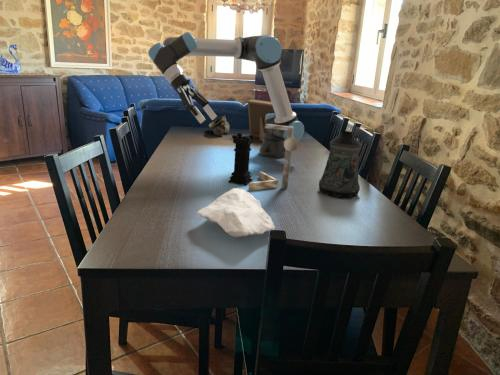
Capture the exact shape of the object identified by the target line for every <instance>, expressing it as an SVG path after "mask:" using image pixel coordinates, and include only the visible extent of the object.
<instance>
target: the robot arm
mask: <svg viewBox="0 0 500 375" xmlns="http://www.w3.org/2000/svg"><path fill="white" fill-rule="evenodd" d="M282 53H283V48H282V44H281V42H280V40H279V39H278V38H277V37H276V36H273V35H269V34H263V35H252V36H247V37H246V36H245V37H235V38H234V39H225V38H224V39H220V38H219V39H218V38H195V37H194V35H193V34H192V33H191V32H188V31H186V32H184V33H182V34H181V35H180V36H175V37H172V36H171V37H170V36H168V37H167V38H166V39H164V40H163V42H157V43H155V44H153V45H152V46H151V47H150V48H149V50H148V52H147V55H148V56H149V58H150V60H151V61H152V62H153V64H154V65H155V66H156V68H157V69H158V70H159V71H160V72H161V74H162V75H163V77H164V78H165V81H167V82H168V83H169V84H170V85H171V87H172V89H173V90H174V91H175V92H176V93H177V94H178V96H179V98H180V100H181V102H182V104H183V106H184V108H185V110H186V111H187V112H191V114H192V115H193V117H195V119H196V120H197V122H198V123H199V124H203V123H204V122H205V121H206V118H205V116H204V115H203V114H202V112H201V111H200V110H199V109H198V107H197V106H195V105H194V104H195V103H194V102H193V101H195V102H196V103H197V104H199V105H200V106H201V107H203V108H202V109H203V110H204V112H205V113H206V115H208V117H209V118H210V119H211V120H212V121H213V120H216V119H217V117H218V115H217V114H216V113H215V111H214V110H213V109H212V108H211V106H210V105H209V104H210V101H209V100H207V98H205V97H204V96H203V94H201V93H200V92H199V91H198V90H197V89H196V88H195V86H194V85H192V86H190V84H189V83H190V82H191V79H190V78H189V77H188V76H187V74H186V73H185V72H184V70H183V68H182V67H181V66H180V65H179V63H178V61H180V60H181V59H183V58H185V57H186V56H187V57H188V56H192V57H193V56H195V57H227V58H228V57H230V58H232V57H233V58H234V59H236V60H244V61H245V60H246V61H250V62H255V65H256V69H257V70H258V71H259V72H261V73H262V76H263V80H264V82H265V86H266V89H267V92H268V93H267V94H268V95H269V99H270V102H272V105H273V109H274V112H275V114H267V115H266V116H265V126H264V128H265V127H266V124H272V125H281V126H292V127H294V130H293V137H294V138H296V139H297V141H298V142H299V141H300V140H301V139H302V138H303V135H304V133H305V126H304V124H303V123H302V121H300V120H299V119H298V116H297V113H296V112H295V111H293V110H292V106H291V102H290V99H289V95H288V92H287V89H286V85H285V83H284V78H283V75H282V71H281V69H280V65H281V63H282V60H281V59H282V58H281V57H282ZM286 139H287V130H278V129H269V128H267V133H264V139H263V141H262V143H261V145H260V148H259V152H258V154H259V156H262V157H267V158H270V159H271V158H272V159H281V158H285V148H284V141H285V140H286Z"/></svg>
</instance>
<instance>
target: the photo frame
mask: <svg viewBox="0 0 500 375" xmlns="http://www.w3.org/2000/svg"><path fill="white" fill-rule="evenodd" d="M247 111H248V125H249V136H250V135H255V138H259V141H261V142H263V139H264V126H265V116H266V115H267V114H275V112H274V109H273V105H272V102H271V101H265V100H259V99H251V98H250V100H247Z"/></svg>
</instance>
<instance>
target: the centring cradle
mask: <svg viewBox="0 0 500 375" xmlns="http://www.w3.org/2000/svg"><path fill="white" fill-rule="evenodd" d="M267 128H269V129H278V130H287V139H286V140H285V141H284V148H285V157H283V158H284V159H283V160H284V161H283V169H282V170H283V171H282V179H281V180H282V181H281V189H283V190H287V189H288V186H289V184H288V183H289V178H290V177H289V175H290V174H289V173H290V168H291V167H290V166H291V157H292V152H293V151H295V150H296V149H297V148H298V146H299V141H297V139H296V138H294V137H293V130H294V127H292V126H281V125H272V124H266V127H265V128H264V133H267ZM258 179H260V180H261V181H251V182H250V183H249V184H248V191H250V192H251V191H257V190H259V191H260V190H265V189H274V188H278V184H279V180H278V179H277V178H276V177H273V176H271V175H269V174H267V173H265V172H264V171H262V170H260V171H258Z"/></svg>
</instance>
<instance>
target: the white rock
mask: <svg viewBox="0 0 500 375" xmlns="http://www.w3.org/2000/svg"><path fill="white" fill-rule="evenodd" d="M196 213H197V215H199V216H200V217H202V218H203V219H206V220H208V221H210V222H212V223H215V224H218V225H219V226H220V228H222V230H223V231H224V232H225V233H227V234H228V235H229V236H231V237H234V238H238V237H247V236H249V235H250V236H256V235H257V236H258V235H263V234H264V233H265V232H271V231H270V230H273V231H274V230H275V229H276V226H275V225H274V221H273V220H272V217H271V216H270V215H269V214H268V212H266V211H265V209H264V208H262V204H261V201H260V200H259V199H256V198H255V196H253V195H252V193H250V192H249V191H247V190H245V189H243V188H237V187H234V188H230V190H228V191H226V192H224V193H223V194H221V195H220V196H217V197H216V199H215V200H213V201H212V202H211V203H210V204H208V205H207V206H204V207H202V208H201V209H199V210H198V211H197V212H196Z"/></svg>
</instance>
